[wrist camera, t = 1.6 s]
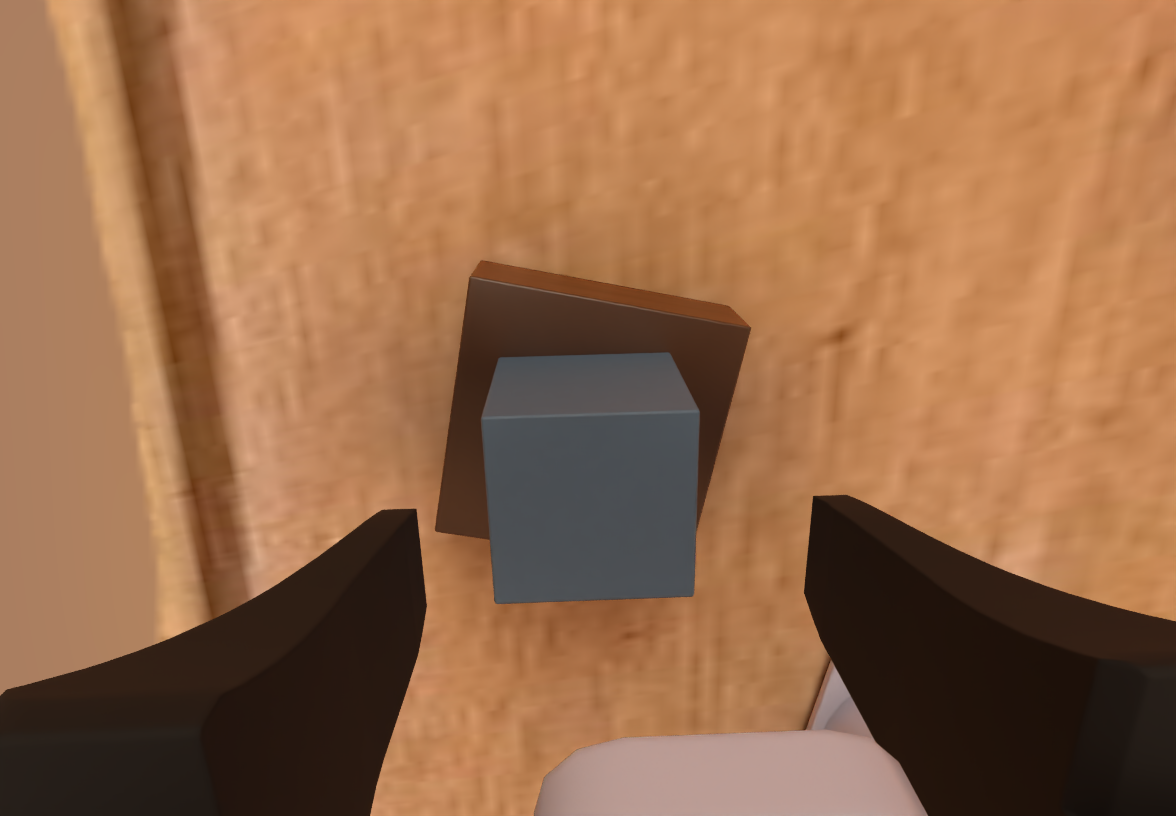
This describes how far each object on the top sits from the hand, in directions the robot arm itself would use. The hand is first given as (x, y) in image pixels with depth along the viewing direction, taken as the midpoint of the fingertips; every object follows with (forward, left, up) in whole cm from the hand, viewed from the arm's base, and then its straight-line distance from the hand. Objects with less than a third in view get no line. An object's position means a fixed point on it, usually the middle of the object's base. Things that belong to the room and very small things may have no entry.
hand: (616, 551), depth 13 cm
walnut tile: (0, 0, -9) cm, 9 cm away
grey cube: (0, 0, -6) cm, 7 cm away
